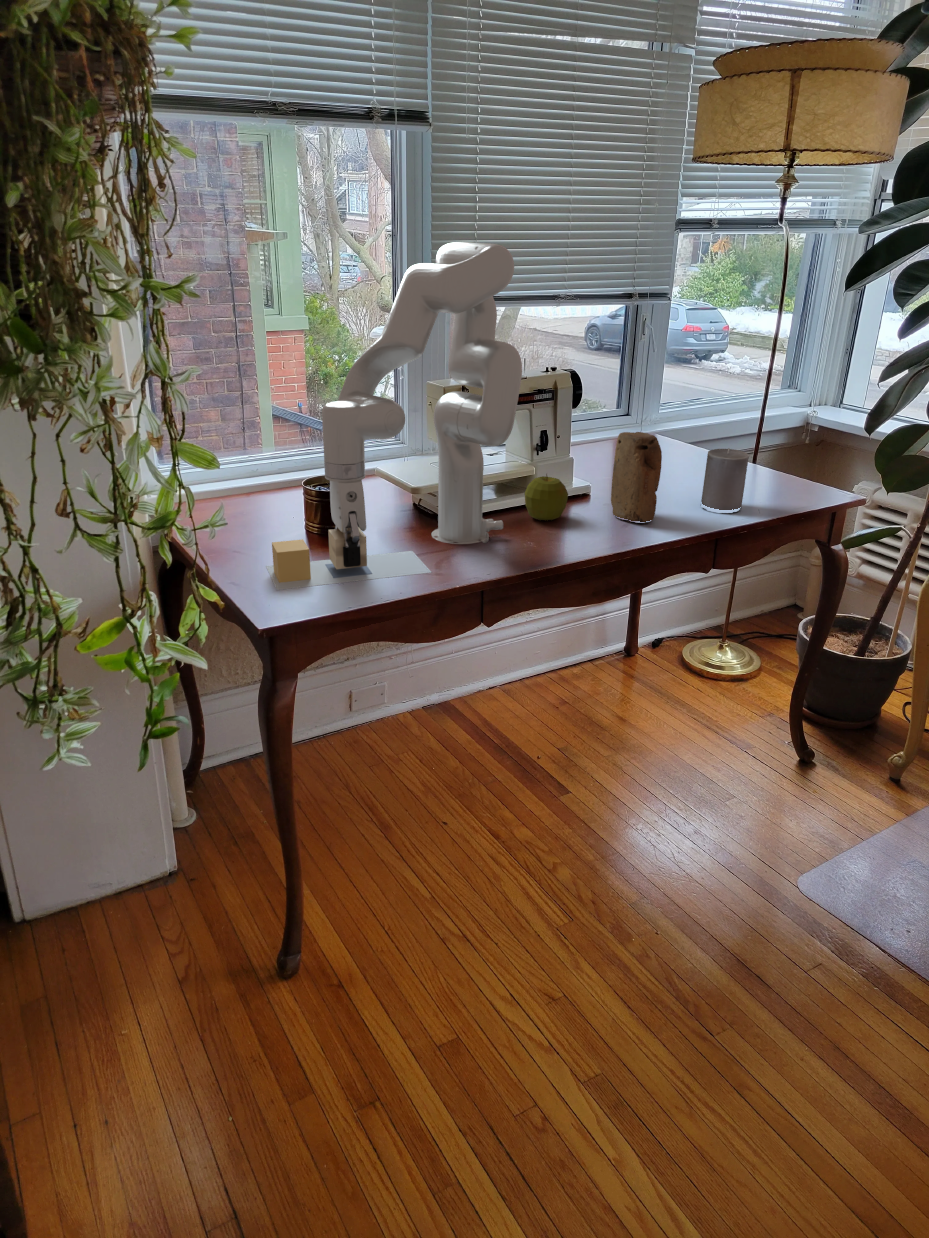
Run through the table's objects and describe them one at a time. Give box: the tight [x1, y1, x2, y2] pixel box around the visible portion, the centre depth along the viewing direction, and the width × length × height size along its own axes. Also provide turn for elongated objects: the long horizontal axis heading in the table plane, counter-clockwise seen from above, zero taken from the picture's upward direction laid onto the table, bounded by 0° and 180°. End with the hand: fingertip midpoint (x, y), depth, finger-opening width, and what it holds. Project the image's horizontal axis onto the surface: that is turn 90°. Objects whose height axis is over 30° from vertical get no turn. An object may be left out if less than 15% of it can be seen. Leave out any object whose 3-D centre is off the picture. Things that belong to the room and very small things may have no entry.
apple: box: [524, 473, 569, 522], centre depth 214 cm, size 10×10×11 cm
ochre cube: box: [271, 538, 311, 583], centre depth 176 cm, size 6×6×6 cm
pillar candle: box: [700, 447, 750, 510], centre depth 223 cm, size 10×10×15 cm
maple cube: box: [327, 527, 368, 569], centre depth 178 cm, size 6×6×6 cm
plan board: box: [265, 550, 433, 591], centre depth 180 cm, size 30×13×1 cm, turn 110°
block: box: [610, 431, 663, 522], centre depth 213 cm, size 11×8×20 cm
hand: (348, 559), depth 179 cm, fingers closed on maple cube, 5 cm apart
